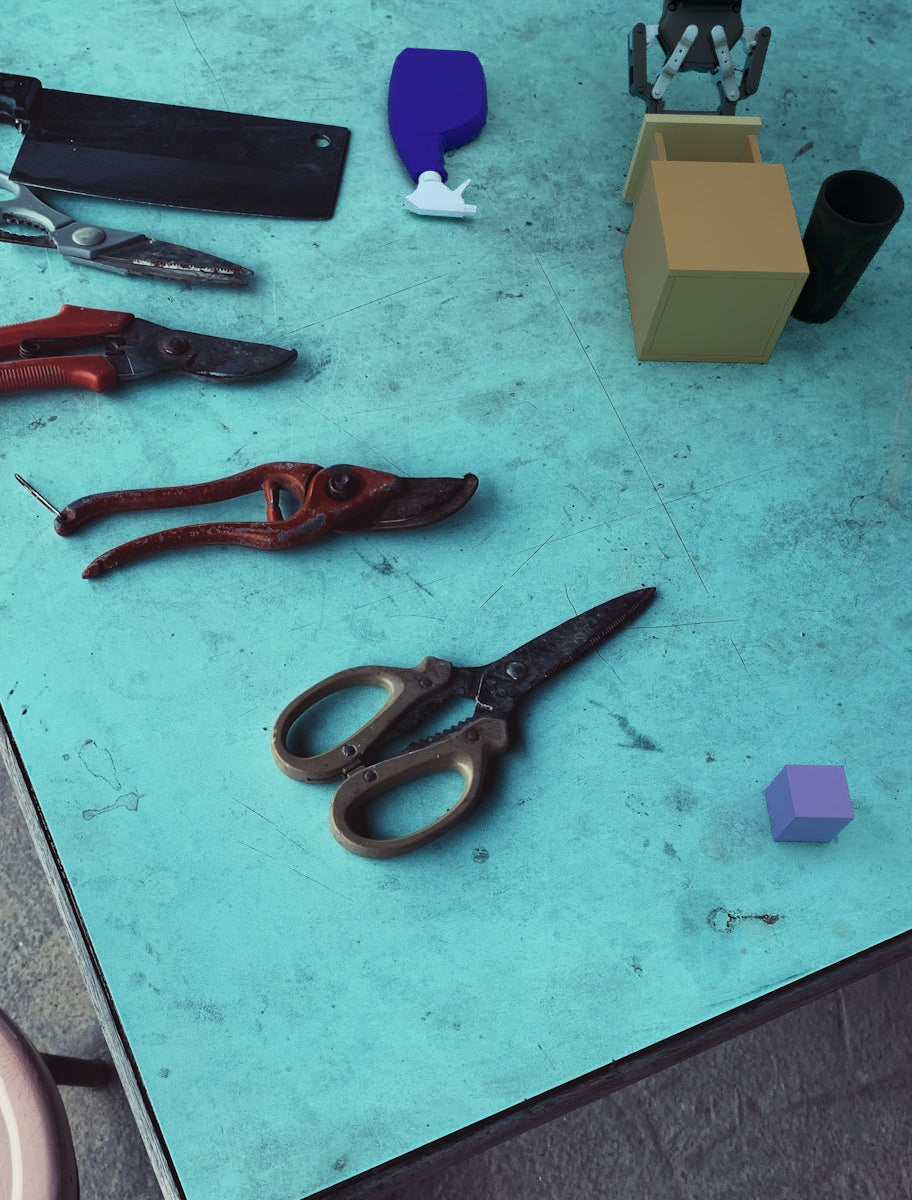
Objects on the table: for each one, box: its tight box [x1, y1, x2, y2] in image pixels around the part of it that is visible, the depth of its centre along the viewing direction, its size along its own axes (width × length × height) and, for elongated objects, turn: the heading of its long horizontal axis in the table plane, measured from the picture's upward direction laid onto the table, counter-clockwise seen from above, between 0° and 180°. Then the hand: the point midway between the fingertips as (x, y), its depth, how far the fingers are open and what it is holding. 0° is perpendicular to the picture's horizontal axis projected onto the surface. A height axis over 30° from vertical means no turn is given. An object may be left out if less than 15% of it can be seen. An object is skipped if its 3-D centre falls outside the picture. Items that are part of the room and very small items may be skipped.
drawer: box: [621, 109, 764, 217], centre depth 119 cm, size 18×11×9 cm, turn 0°
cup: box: [790, 169, 905, 325], centre depth 114 cm, size 8×8×12 cm
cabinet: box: [621, 160, 810, 364], centre depth 114 cm, size 15×13×11 cm
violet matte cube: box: [764, 764, 855, 843], centre depth 93 cm, size 4×4×4 cm
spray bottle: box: [387, 47, 489, 218], centre depth 128 cm, size 3×11×24 cm
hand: (686, 144), depth 122 cm, fingers closed on drawer, 6 cm apart
